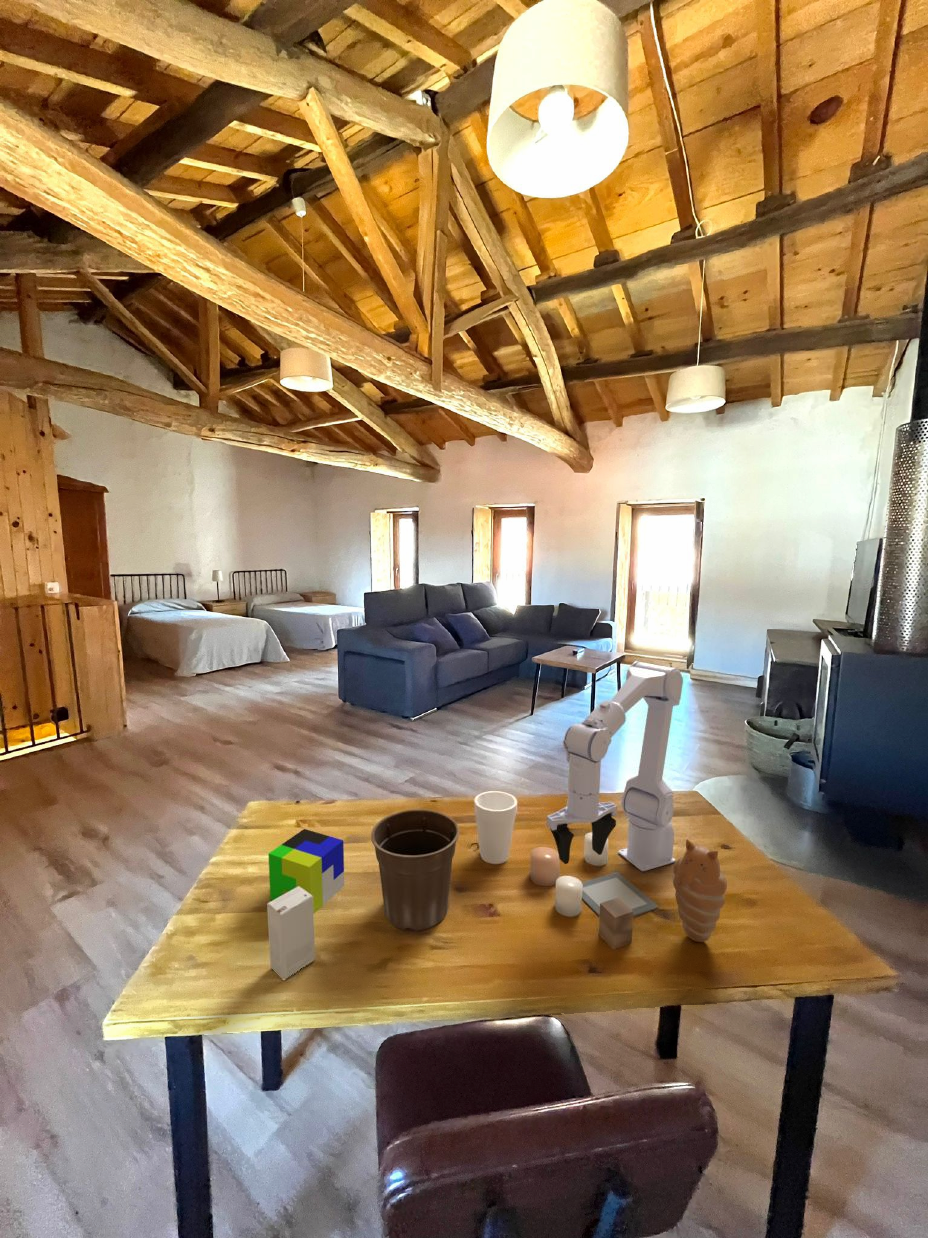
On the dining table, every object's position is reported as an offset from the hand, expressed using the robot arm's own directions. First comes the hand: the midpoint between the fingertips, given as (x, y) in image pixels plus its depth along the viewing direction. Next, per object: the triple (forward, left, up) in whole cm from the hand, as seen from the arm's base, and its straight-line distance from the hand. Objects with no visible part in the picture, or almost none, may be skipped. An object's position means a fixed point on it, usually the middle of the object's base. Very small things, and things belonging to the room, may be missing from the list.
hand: (580, 856), depth 102 cm
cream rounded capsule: (+2, -1, -10) cm, 11 cm away
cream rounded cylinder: (-13, -12, -10) cm, 20 cm away
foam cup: (+7, -22, -11) cm, 25 cm away
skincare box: (+52, -7, -11) cm, 53 cm away
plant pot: (+29, -12, -11) cm, 33 cm away
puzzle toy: (+47, -25, -11) cm, 54 cm away
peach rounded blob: (+1, -11, -10) cm, 15 cm away
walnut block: (-1, +9, -10) cm, 14 cm away
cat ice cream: (-14, +15, -11) cm, 23 cm away
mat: (-8, 0, -10) cm, 13 cm away
